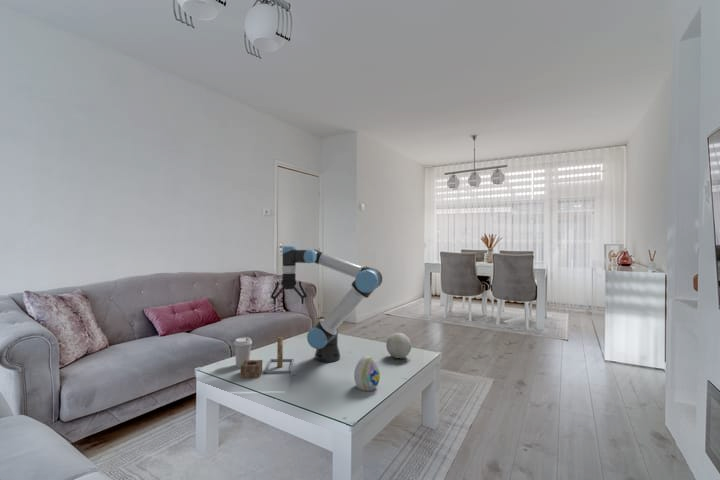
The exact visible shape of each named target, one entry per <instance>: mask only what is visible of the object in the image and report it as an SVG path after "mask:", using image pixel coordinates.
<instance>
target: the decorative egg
mask: <svg viewBox="0 0 720 480" xmlns="http://www.w3.org/2000/svg"><path fill="white" fill-rule="evenodd" d="M353 375H354V376H353V377H354V382H355V385H356V387H357V388H358V389H359V390H360V391H365V392H371V391H374V390H375V389H376V388H377V387H378V386H379V382H380V376H381V372H380V369H379V365H378V362H376V360H375V358H373V357H372V356H370V355H365V356H363V357H361V358H360V359H359V360H358V362H357V364H356V366H355V369H354V374H353Z"/></svg>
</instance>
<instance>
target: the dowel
mask: <svg viewBox="0 0 720 480" xmlns="http://www.w3.org/2000/svg"><path fill="white" fill-rule="evenodd" d="M276 349H277V352H276V353H277V354H276V355H277V357H276V359H277V362H276V368H278V369H280V368H281V369H282V368H283V359H284V358H283V356H284V354H283V353H284V337H282V336H279V337H277V348H276Z"/></svg>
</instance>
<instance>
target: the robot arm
mask: <svg viewBox="0 0 720 480" xmlns="http://www.w3.org/2000/svg"><path fill="white" fill-rule="evenodd" d="M296 264H317V265H319V266H322V267H325V268H327V269H331V270H333V271H336V272H339V273H340V274H343V275H346V276H348V277H352V278H354V280H353V281H352V283H350V284H351V288H350V289H349V290H348V291H347V292H346V293H345V295H344V296H343V297H342V298H341V300H340V301H339V302H338V303H337V304H336V306H334V308H333V309H332V310H331V311H330V313H329V314H328V315H327V316H326V317H325V318H320V319H319V320H318V322H317V323H316V325H314V327H313V328H312V327H311V329H310V330H308V332H307V334H306V341H307V343H308V345H309V346H310V347H311V348H313V349H316V350H315V353H314V359H315V360H316V361H317V362H321V363H333V362H337V361H339V360H340V359H341V352H340V349H339V345H338V342H339V340H338V339H339V327H340V326H341V325H342V324H343V322H344V321H345V320H346V319H347V317H349V315H350V314H351V313H352V312H353V311H354V310H355V309H356V307H357V306H358V305H359V304H360V303H361V302H362V301H363V299H368V298H369V297H370V296H371V295H372V294H373V293H374V291H375V290H376V289H377V288H379V287H380V286H381V285H382V283H383V275H382V273H381V272H380V270H378V269H377V268H373V267H370V266H367V265H362V266H361V265H358V264H355V263H353V262H351V261H347V260H344V259H341V258H340V257H339V258H338V257H336V256H333V255H330V254H328V253H325V252H323V251H320V250H319V249H316V248H314V249H297V247H296V246H291V245H290V246H288V245H287V246H283V247H282V268H281V269H282V270H281V271H282V274H281V278H282V279H281V281H276V284H275V285H276V286H275V287H274V289H273V291H272V293H271V295H270V298H271V299H273V305H274V306H275V312H277V311H278V297H279V296H280V294H281V293H282V292H283V291H284V290H294V291H295V292H296V293H297V294H298V296H299V297H300V298H299V310H300V311H302V305H303V304H304V299H305V298H307V297H308V295H307V293H306V291H305V290H304V288H303V286H302V282H301V281H300V280H299V281H296V277H297V275H296V271H297V269H296V267H297V266H296ZM281 285H282V287H281V288H280V290H278V288H279V286H281ZM296 286H299V289H300V291H299V290H298V289H297V287H296ZM277 290H278V292H277ZM276 292H277V293H276ZM301 292H302V293H301ZM275 293H276V294H275ZM302 294H303V295H302Z"/></svg>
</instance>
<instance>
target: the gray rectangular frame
mask: <svg viewBox="0 0 720 480" xmlns="http://www.w3.org/2000/svg"><path fill="white" fill-rule="evenodd" d="M294 360H295V359H294V358H283V362H284V363H285V362H290V365H289V369H287V370H269V369H270V366H271V364H272V362H273V363H277V358H270V359H269V361H268V364H267V365H266V368H265V370H264V374H265V375H268V374H269V375H272V374H274V375H276V374H279V375H282V374H285V375H286V374H291V373H292V368H293V365H294ZM283 362H282V363H283Z"/></svg>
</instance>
